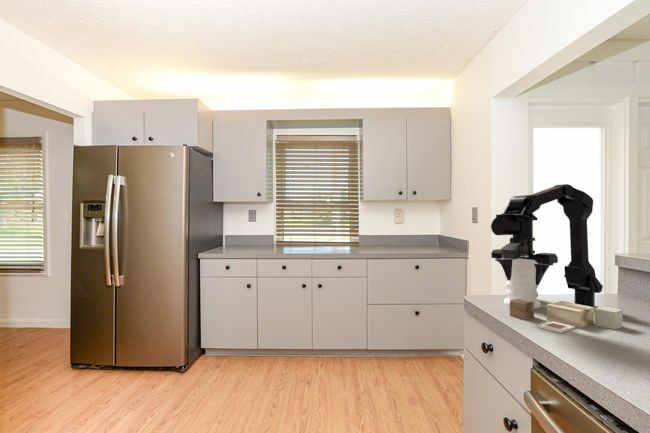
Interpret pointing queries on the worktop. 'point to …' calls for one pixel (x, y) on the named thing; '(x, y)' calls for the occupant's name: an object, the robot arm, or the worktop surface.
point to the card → (556, 327)
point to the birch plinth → (570, 314)
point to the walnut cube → (521, 308)
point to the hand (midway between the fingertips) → (522, 282)
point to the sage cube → (608, 317)
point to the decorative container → (523, 282)
